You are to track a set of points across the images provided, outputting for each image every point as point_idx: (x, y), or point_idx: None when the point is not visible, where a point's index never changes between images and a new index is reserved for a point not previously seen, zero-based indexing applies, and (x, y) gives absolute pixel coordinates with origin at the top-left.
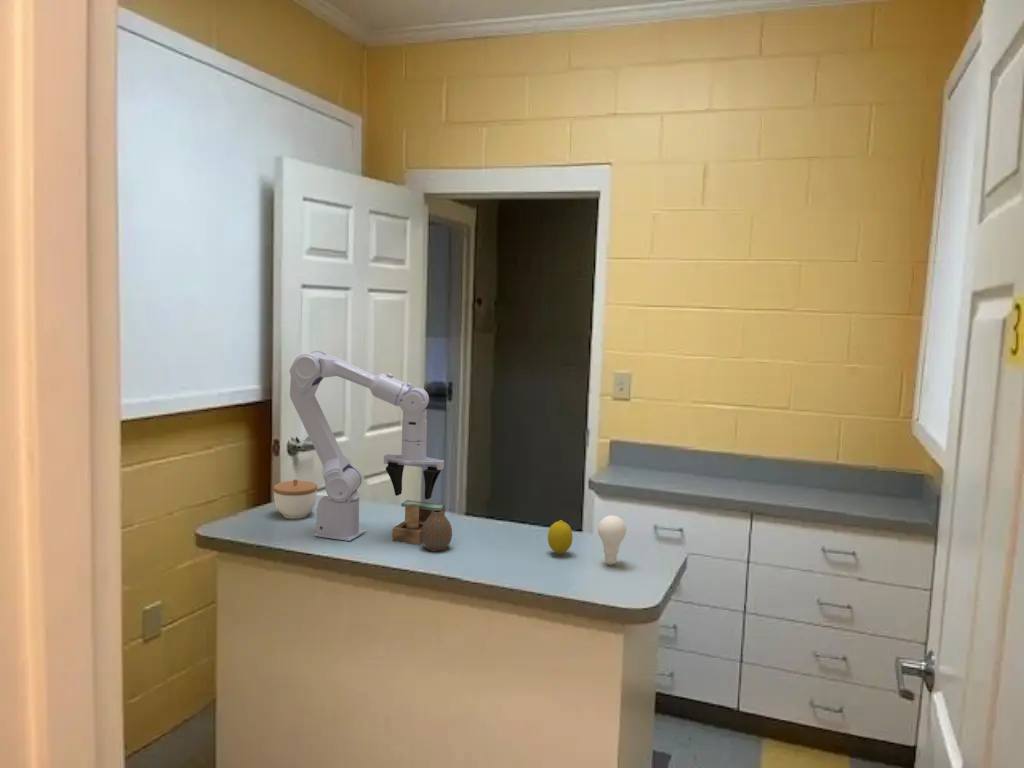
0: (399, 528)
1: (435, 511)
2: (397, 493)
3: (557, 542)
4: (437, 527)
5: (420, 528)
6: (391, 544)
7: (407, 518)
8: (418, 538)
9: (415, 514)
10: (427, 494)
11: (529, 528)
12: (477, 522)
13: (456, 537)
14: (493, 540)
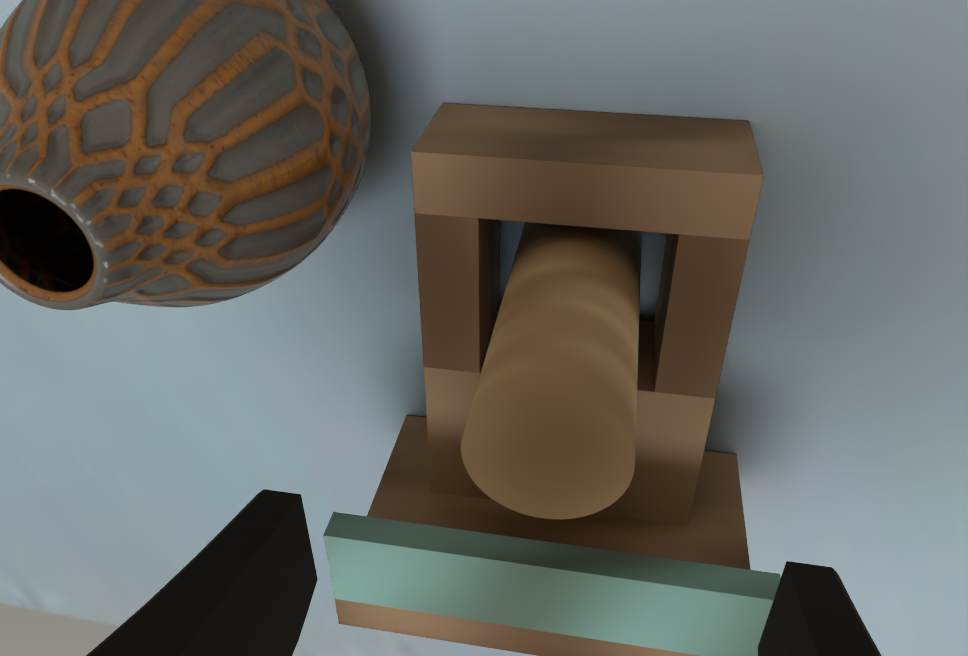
0: (681, 203)
1: (123, 291)
2: (794, 591)
3: None
4: (21, 8)
5: (464, 267)
6: (724, 18)
7: (599, 309)
8: (444, 128)
9: (494, 350)
10: (213, 540)
11: (16, 577)
12: (311, 616)
13: (271, 360)
14: (30, 367)
